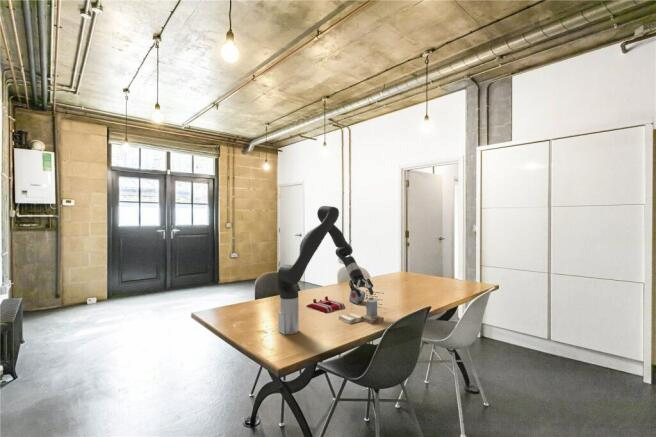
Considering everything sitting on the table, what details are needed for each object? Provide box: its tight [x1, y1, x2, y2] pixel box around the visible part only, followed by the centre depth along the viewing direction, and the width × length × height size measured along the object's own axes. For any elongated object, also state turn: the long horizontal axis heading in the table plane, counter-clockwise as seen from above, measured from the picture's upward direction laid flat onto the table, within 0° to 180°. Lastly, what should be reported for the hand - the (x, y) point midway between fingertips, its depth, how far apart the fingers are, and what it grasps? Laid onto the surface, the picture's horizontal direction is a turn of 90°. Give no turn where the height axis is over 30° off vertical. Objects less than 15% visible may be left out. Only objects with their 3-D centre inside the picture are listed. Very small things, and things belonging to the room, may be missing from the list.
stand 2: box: [360, 315, 385, 325], centre depth 178 cm, size 9×9×2 cm
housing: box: [364, 296, 379, 319], centre depth 178 cm, size 5×5×10 cm
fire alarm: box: [305, 296, 346, 314], centre depth 206 cm, size 16×6×20 cm
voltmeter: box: [348, 288, 384, 306], centre depth 213 cm, size 27×11×10 cm, turn 58°
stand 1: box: [338, 312, 363, 324], centre depth 179 cm, size 9×9×2 cm
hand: (366, 295), depth 182 cm, fingers open, 8 cm apart
